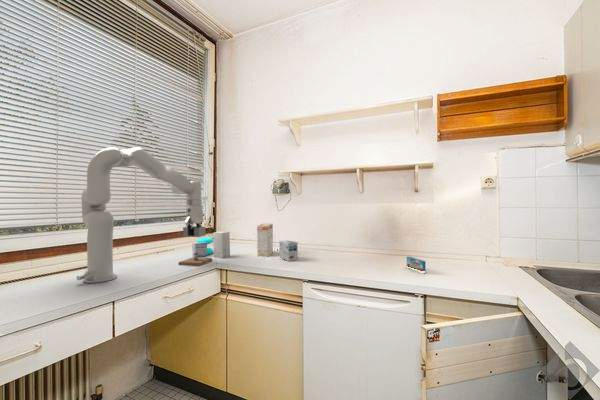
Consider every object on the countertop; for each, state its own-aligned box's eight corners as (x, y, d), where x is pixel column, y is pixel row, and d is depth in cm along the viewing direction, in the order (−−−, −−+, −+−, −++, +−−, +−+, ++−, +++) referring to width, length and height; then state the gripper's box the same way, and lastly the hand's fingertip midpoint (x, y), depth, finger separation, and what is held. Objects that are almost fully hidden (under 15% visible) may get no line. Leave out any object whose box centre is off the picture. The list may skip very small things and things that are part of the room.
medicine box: (195, 258, 179) (194, 243, 179) (192, 256, 182) (192, 243, 182) (207, 256, 184) (207, 242, 184) (204, 255, 187) (204, 241, 187)
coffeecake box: (263, 252, 198) (262, 223, 198) (273, 252, 197) (273, 223, 197) (256, 256, 183) (256, 225, 183) (267, 256, 182) (267, 225, 182)
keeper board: (197, 266, 157) (197, 256, 157) (178, 264, 160) (178, 254, 160) (212, 260, 171) (212, 251, 171) (194, 259, 174) (193, 250, 174)
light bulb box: (298, 260, 172) (298, 242, 172) (288, 261, 168) (288, 243, 168) (288, 257, 181) (288, 239, 181) (279, 258, 177) (279, 240, 177)
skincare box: (230, 256, 182) (230, 231, 182) (222, 258, 176) (222, 232, 176) (221, 255, 186) (220, 231, 186) (212, 257, 181) (212, 232, 181)
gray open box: (199, 237, 161) (199, 227, 161) (183, 236, 163) (183, 227, 163) (205, 235, 167) (205, 226, 167) (190, 234, 169) (190, 226, 169)
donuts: (213, 239, 189) (196, 239, 186) (213, 254, 189) (196, 255, 186) (212, 237, 198) (197, 237, 195) (212, 251, 198) (197, 252, 196)
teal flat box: (425, 273, 142) (425, 261, 142) (422, 274, 142) (423, 261, 142) (409, 268, 154) (409, 256, 154) (406, 268, 153) (406, 256, 153)
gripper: (190, 203, 155) (191, 237, 156) (208, 202, 172) (208, 233, 173) (178, 203, 157) (178, 236, 158) (197, 202, 174) (197, 232, 174)
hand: (194, 234), depth 165 cm, fingers closed on gray open box, 6 cm apart
